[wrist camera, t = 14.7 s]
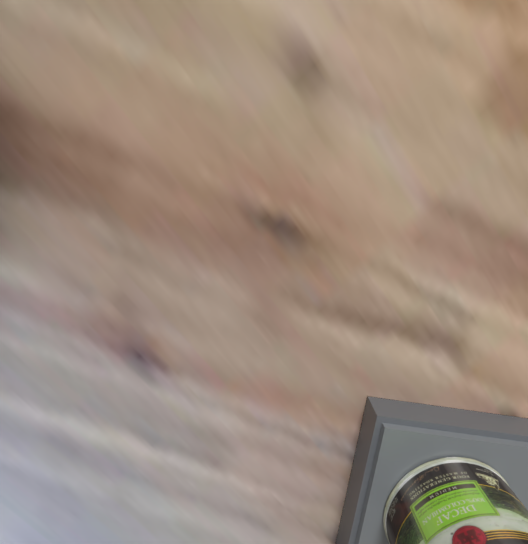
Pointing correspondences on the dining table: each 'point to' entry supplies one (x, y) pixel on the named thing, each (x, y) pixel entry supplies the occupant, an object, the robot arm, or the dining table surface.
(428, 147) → the dining table surface
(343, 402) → the dining table surface
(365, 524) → the pedestal
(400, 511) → the coffee can
